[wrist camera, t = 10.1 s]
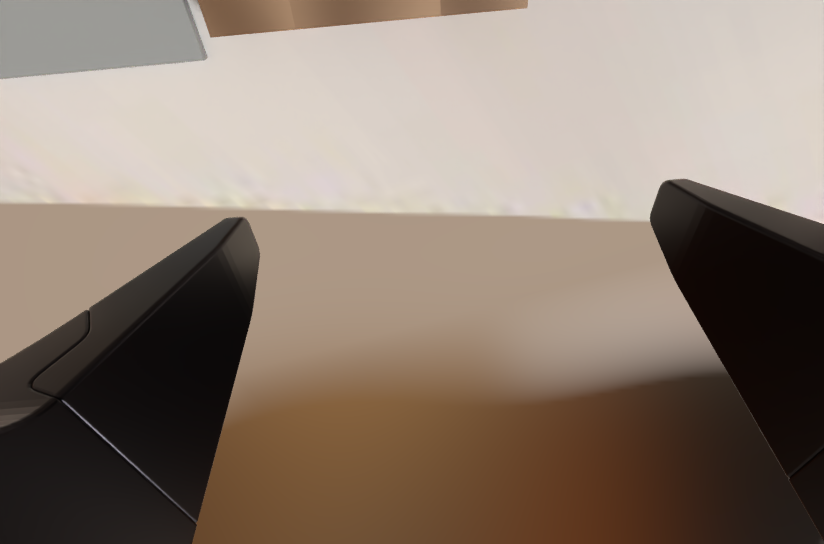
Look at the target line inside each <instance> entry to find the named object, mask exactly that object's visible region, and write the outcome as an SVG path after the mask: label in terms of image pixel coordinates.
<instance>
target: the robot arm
mask: <svg viewBox="0 0 824 544" xmlns="http://www.w3.org/2000/svg"><path fill="white" fill-rule="evenodd" d="M650 222H651V226H652V228H653V230H654V233H655V235H656V237H657V240H658V242H659V245H660V247H661V250H662V252H663V254H664V256H665V259H666V261H667V264H668V266H669V269H670V271H671V273H672V275H673V277H674V279H675V281H676V283H677V285H678V287H679V289H680V290H681V292H682V294H683V296H684V297H685V299H686V301H687V302H688V304H689V306H690V308H691V310H692V311H693V313H694V315H695V317H696V318H697V320H698V322H699V324H700V325H701V327H702V329H703V330H704V332H705V334H706V336H707V338H708V339H709V341H710V343H711V345H712V346H713V348H714V350H715V351H716V353H717V355H718V357H719V358H720V360H721V362H722V364H723V365H724V367H725V369H726V371H727V372H728V374H729V375H730V377H731V379H732V381H733V383H734V385H735V386H736V388H737V390H738V392H739V393H740V395H741V397H742V399H743V400H744V402H745V404H746V405H747V407H748V409H749V411H750V412H751V414H752V416H753V418H754V420H755V421H756V423H757V425H758V427H759V428H760V430H761V432H762V433H763V435H764V437H765V439H766V440H767V442H768V444H769V446H770V447H771V449H772V451H773V453H774V454H775V456H776V458H777V460H778V461H779V463H780V465H781V467H782V468H783V470H784V472H785V474H786V475H787V476H788V477H789V481H790V483H791V485H792V486H793V488H794V490H795V492H796V493H797V495H798V497H799V499H800V500H801V502H802V504H803V505H804V507H805V509H806V511H807V513H808V514H809V516H810V518H811V520H812V521H813V523H814V525H815V527H816V528H817V530H818V532H819V534H820V535H821V537H822V539H823V540H824V224H822V223H819V222H816V221H813V220H809V219H806V218H803V217H800V216H797V215H794V214H791V213H788V212H785V211H782V210H779V209H776V208H773V207H770V206H767V205H764V204H761V203H758V202H755V201H752V200H749V199H745V198H742V197H739V196H736V195H733V194H730V193H727V192H724V191H721V190H718V189H715V188H712V187H709V186H706V185H703V184H700V183H697V182H694V181H691V180H688V179H674V180H667V181H665V182H663V183H662V184H661V186H660V188H659V191H658V194H657V196H656V199H655V202H654V205H653V208H652V211H651V214H650ZM259 258H260V253H259V247H258V244H257V242H256V239H255V237H254V234H253V232H252V229H251V227H250V224H249V222H248V221H247V219H246V218H244V217H234V218H226V219H224V220H222V221H221V222H220V223H218V224H216V225H215V226H213V227H212V228H210V229H209V230H207V231H206V232H204V233H202V234H201V235H200V236H198V237H197V238H195V239H193V240H192V241H190V242H189V243H187V244H186V245H184V246H183V247H181V248H180V249H178V250H177V251H175V252H174V253H172V254H171V255H169V256H167V257H166V258H164V259H163V260H162V261H160V262H158V263H157V264H155V265H154V266H152V267H151V268H149V269H148V270H146V271H145V272H143V273H142V274H140V275H139V276H137V277H136V278H134V279H133V280H131V281H129V282H128V283H126V284H125V285H123V286H122V287H120V288H119V289H117V290H116V291H114V292H113V293H111V294H110V295H108V296H107V297H105V298H104V299H102V300H101V301H99V302H98V303H96V304H95V305H93V306H91V307H90V309H89V310H85V311H84V312H82V313H81V314H79V315H78V316H76V317H75V318H73V319H72V320H70V321H69V322H67V323H66V324H64V325H62V326H61V327H59V328H57V329H56V330H54V331H53V332H51V333H50V334H48V335H46V336H45V337H43V338H42V339H40V340H39V341H37V342H35V343H34V344H32V345H30V346H29V347H27V348H25V349H24V350H22V351H20V352H19V353H17V354H16V355H14V356H12V357H10V358H9V359H7V360H5V361H4V362H2V363H0V544H192V542H193V537H194V534H195V530H196V526H197V524H196V522H197V521H198V517H199V513H200V510H201V506H202V502H203V499H204V494H205V491H206V487H207V483H208V480H209V476H210V472H211V468H212V465H213V461H214V457H215V453H216V449H217V446H218V442H219V438H220V434H221V431H222V427H223V423H224V419H225V415H226V411H227V408H228V404H229V400H230V397H231V393H232V389H233V385H234V381H235V378H236V374H237V370H238V366H239V362H240V359H241V355H242V351H243V347H244V344H245V340H246V336H247V332H248V328H249V325H250V321H251V316H252V311H253V305H254V297H255V290H256V282H257V274H258V266H259Z"/></svg>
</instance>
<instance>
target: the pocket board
mask: <svg viewBox="0 0 824 544" xmlns="http://www.w3.org/2000/svg"><path fill="white" fill-rule="evenodd" d="M198 2H199V5H200V8H201V11H202V14H203V17H204V20H205V22H206V25H207V28H208V31H209V34H210V37H220V36H231V35H242V34H252V33H263V32H274V31H285V30H295V29H306V28H317V27H328V26H339V25H349V24H360V23H371V22H382V21H392V20H403V19H414V18H425V17H435V16H446V15H457V14H468V13H479V12H489V11H500V10H511V9H522V8H527V5H528V0H198Z"/></svg>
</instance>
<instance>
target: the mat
mask: <svg viewBox="0 0 824 544" xmlns="http://www.w3.org/2000/svg"><path fill="white" fill-rule="evenodd" d="M205 59H207V55H206V52H205V49H204V47H203V44H202V41H201V38H200V35H199V33H198V30H197V27H196V24H195V22H194V19H193V16H192V13H191V10H190V8H189V5H188V2H187V0H0V79H7V78H18V77H28V76H39V75H50V74H61V73H72V72H83V71H94V70H104V69H115V68H126V67H137V66H148V65H159V64H170V63H180V62H191V61H202V60H205Z"/></svg>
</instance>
